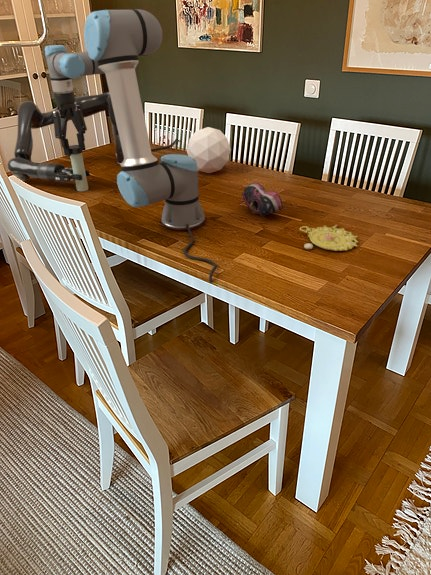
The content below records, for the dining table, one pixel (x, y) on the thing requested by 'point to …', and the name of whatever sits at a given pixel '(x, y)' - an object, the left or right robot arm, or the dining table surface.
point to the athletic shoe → (261, 200)
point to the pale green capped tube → (79, 171)
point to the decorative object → (330, 238)
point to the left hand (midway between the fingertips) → (85, 175)
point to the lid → (75, 149)
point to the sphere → (209, 149)
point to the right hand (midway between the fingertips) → (75, 152)
